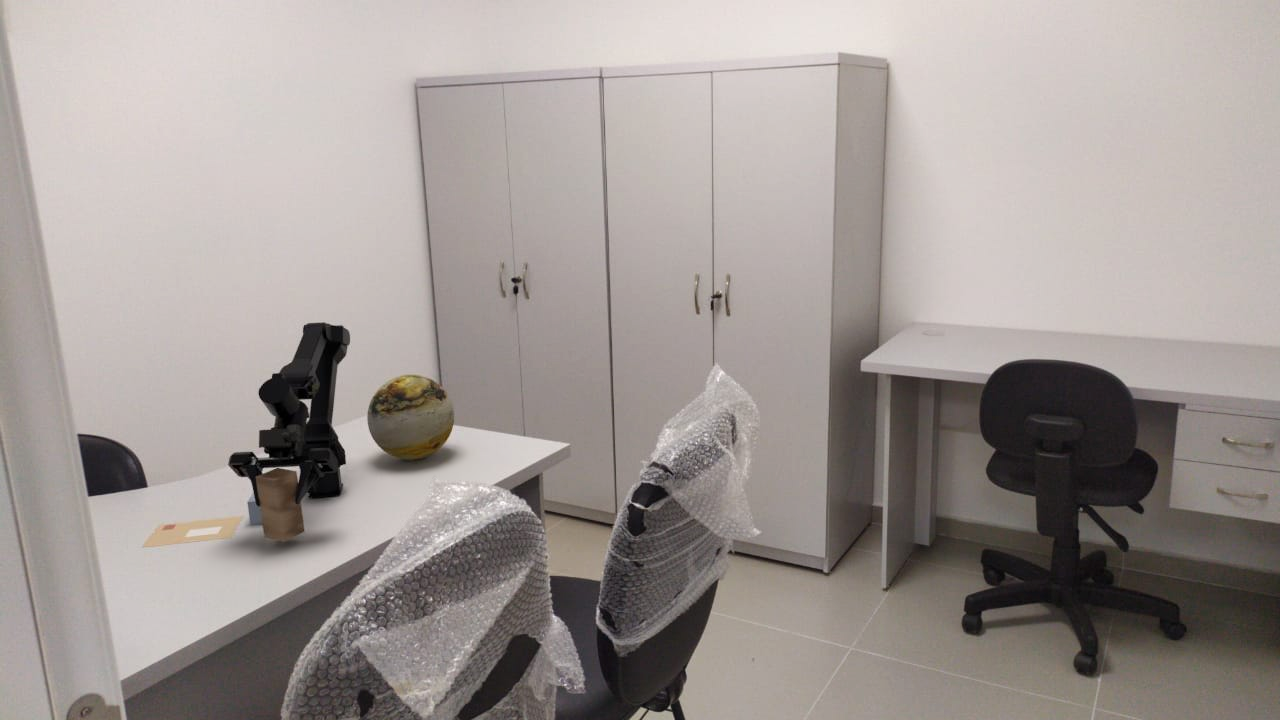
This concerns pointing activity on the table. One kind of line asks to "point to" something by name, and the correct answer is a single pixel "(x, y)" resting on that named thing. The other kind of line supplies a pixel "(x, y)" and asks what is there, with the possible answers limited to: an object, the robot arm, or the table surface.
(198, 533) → the kraft envelope
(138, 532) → the table surface
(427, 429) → the decorative sphere
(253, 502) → the slate-blue cube
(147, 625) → the table surface
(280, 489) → the walnut block
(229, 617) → the table surface
